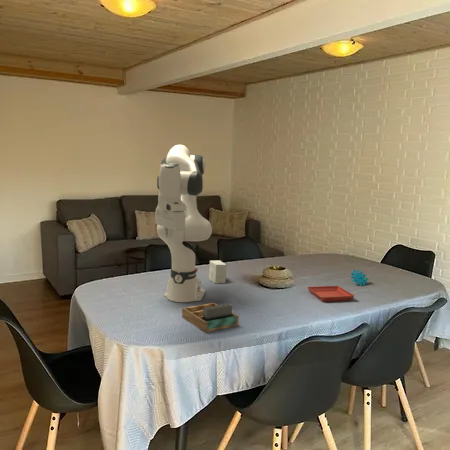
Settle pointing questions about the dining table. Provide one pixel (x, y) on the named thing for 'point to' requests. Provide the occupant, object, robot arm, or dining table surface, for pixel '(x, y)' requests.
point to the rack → (196, 318)
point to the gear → (359, 277)
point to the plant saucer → (330, 293)
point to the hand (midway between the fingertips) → (168, 238)
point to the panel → (217, 312)
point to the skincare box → (217, 272)
